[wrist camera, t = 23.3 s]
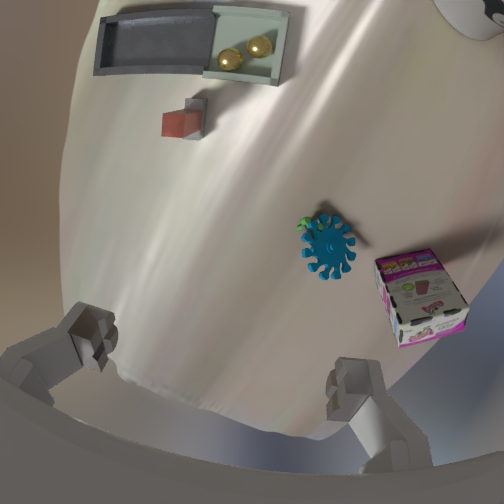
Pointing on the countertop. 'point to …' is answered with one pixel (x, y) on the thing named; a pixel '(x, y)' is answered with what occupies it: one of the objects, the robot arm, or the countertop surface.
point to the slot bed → (155, 42)
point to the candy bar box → (420, 297)
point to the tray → (238, 34)
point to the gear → (327, 245)
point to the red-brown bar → (186, 120)
